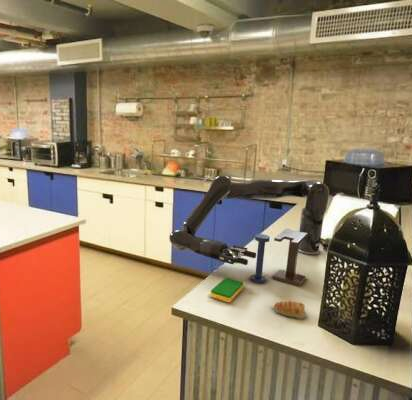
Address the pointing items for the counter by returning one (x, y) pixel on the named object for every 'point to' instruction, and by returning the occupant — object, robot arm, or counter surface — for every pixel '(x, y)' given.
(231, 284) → the dish sponge
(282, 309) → the pastry
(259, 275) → the peg
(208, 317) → the counter surface
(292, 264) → the stand
